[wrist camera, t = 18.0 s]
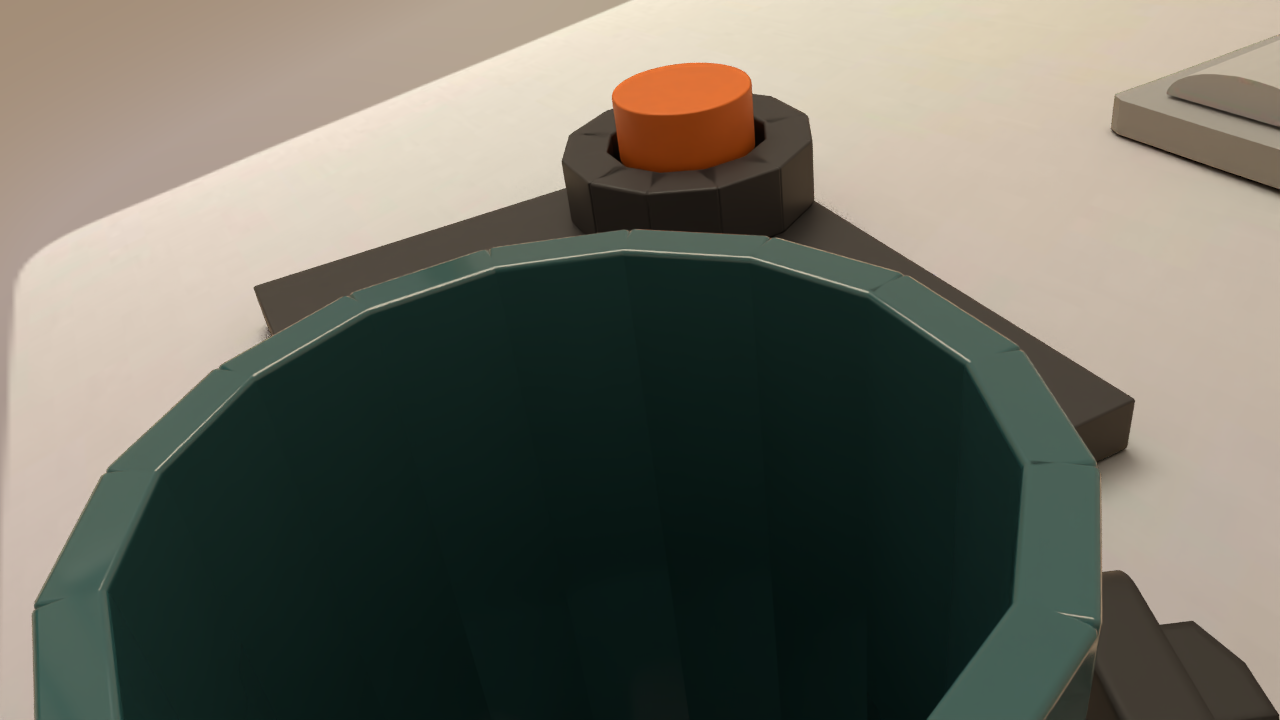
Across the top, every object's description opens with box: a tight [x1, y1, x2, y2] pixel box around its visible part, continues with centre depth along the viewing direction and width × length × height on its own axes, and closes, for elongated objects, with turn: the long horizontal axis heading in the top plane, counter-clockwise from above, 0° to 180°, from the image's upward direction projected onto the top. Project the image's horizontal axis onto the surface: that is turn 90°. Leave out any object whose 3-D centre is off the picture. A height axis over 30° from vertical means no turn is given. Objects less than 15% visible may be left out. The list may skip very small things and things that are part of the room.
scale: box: [254, 94, 1135, 462], centre depth 25 cm, size 15×16×3 cm
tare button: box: [612, 63, 755, 173], centre depth 29 cm, size 4×4×2 cm
